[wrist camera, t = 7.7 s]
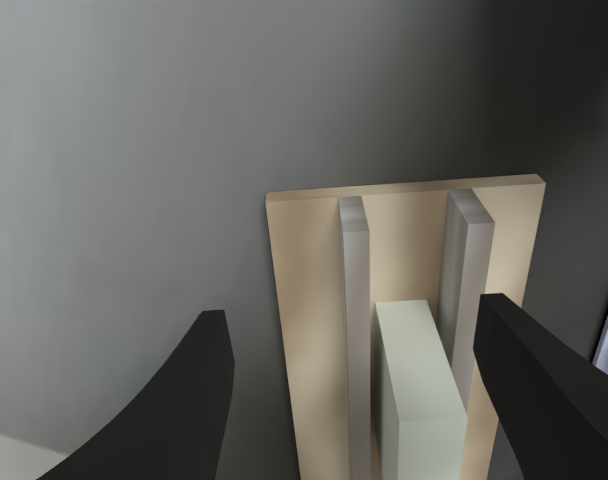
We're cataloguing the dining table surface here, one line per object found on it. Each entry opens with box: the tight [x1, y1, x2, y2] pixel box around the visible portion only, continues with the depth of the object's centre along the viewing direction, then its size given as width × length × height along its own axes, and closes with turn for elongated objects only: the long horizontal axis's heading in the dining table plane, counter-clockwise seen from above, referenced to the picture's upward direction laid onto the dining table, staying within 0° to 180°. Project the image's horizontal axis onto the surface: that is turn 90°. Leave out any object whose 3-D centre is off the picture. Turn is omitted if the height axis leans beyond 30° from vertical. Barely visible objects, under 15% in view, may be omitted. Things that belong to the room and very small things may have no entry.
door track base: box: [265, 174, 546, 480], centre depth 26 cm, size 12×22×4 cm, turn 4°
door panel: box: [375, 299, 468, 480], centre depth 24 cm, size 2×10×7 cm, turn 5°
